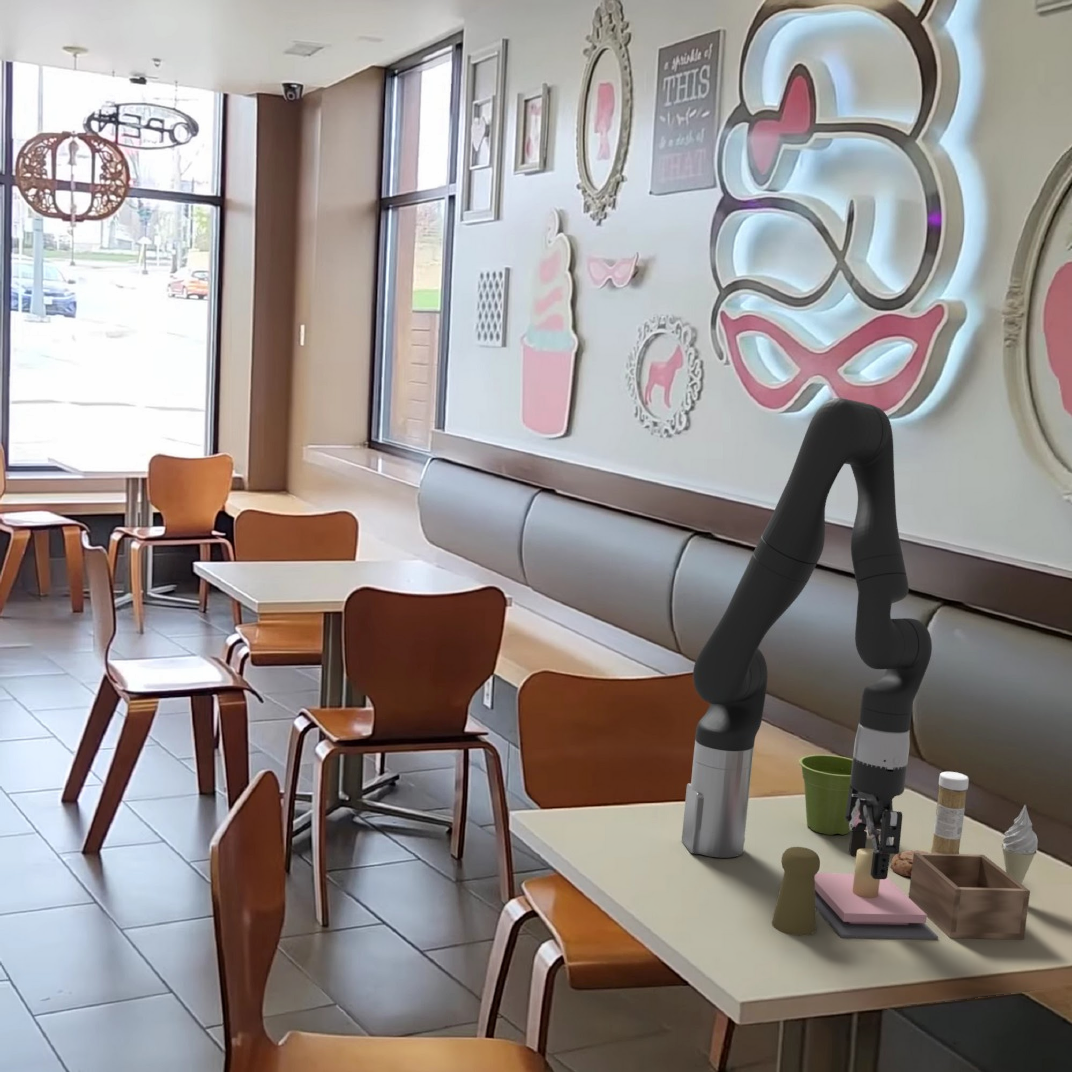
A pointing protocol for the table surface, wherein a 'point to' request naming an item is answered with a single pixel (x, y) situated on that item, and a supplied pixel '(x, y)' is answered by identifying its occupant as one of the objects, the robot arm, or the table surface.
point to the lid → (867, 896)
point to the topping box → (969, 896)
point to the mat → (871, 926)
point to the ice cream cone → (1019, 846)
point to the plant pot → (826, 792)
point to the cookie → (904, 862)
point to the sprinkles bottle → (949, 813)
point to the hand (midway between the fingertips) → (867, 866)
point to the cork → (797, 892)
